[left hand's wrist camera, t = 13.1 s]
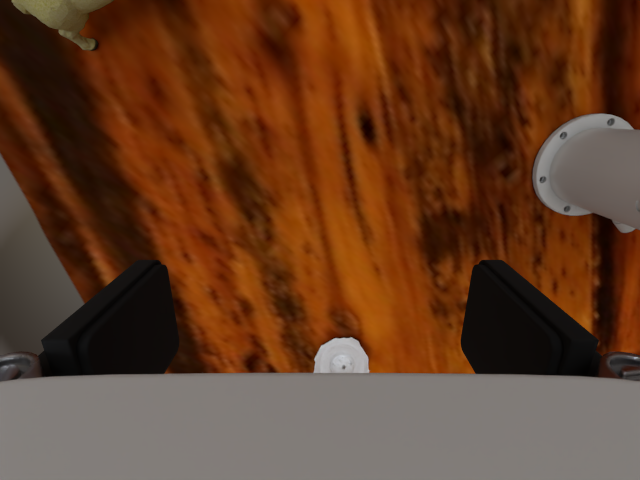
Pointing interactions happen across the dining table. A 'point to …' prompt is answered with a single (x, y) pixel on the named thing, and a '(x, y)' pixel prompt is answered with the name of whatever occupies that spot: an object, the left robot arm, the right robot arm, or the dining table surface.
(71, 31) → the toy
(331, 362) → the seashell
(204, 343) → the dining table surface
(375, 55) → the dining table surface
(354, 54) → the dining table surface
